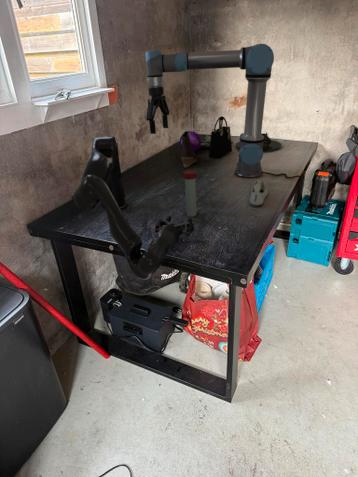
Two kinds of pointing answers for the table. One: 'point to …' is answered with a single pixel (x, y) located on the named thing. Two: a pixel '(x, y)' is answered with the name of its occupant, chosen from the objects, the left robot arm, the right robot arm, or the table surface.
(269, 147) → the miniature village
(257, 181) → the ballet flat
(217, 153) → the handbag
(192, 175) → the lid
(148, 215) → the table surface
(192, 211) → the bottle
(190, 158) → the boot
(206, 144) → the pair of gloves
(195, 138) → the decorative orb
